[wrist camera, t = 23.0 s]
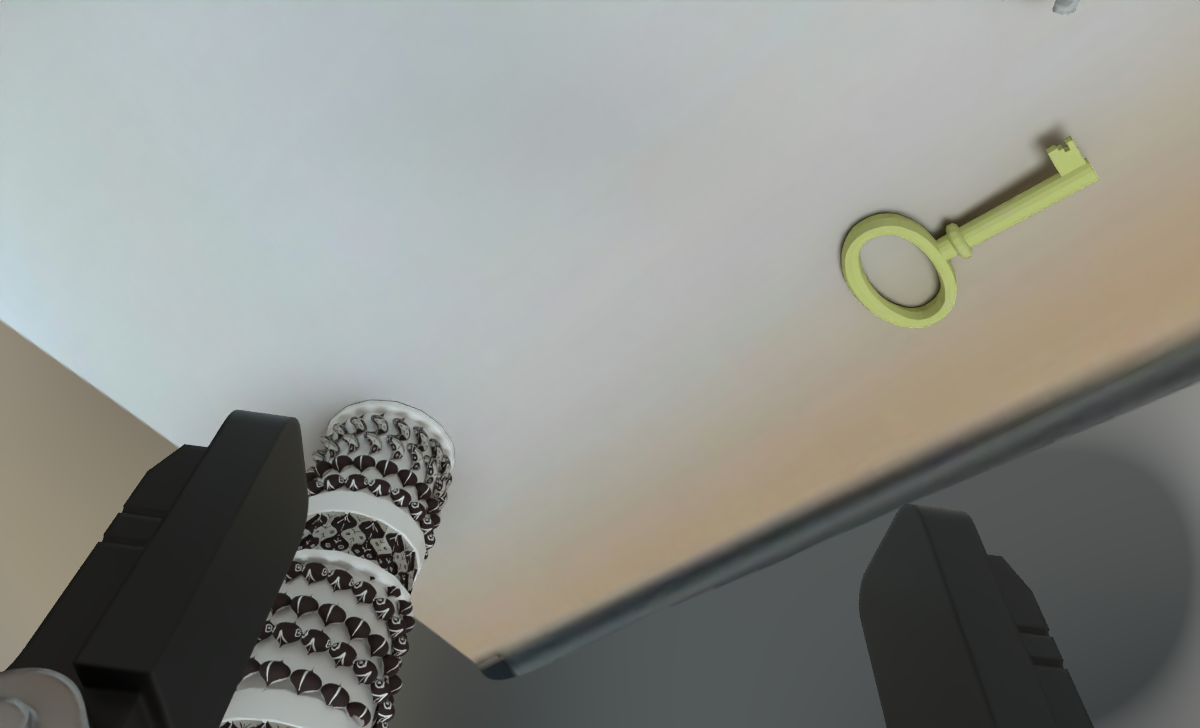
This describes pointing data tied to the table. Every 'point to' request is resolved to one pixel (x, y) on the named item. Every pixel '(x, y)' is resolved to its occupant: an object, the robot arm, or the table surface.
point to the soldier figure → (1065, 6)
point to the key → (957, 238)
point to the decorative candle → (350, 575)
